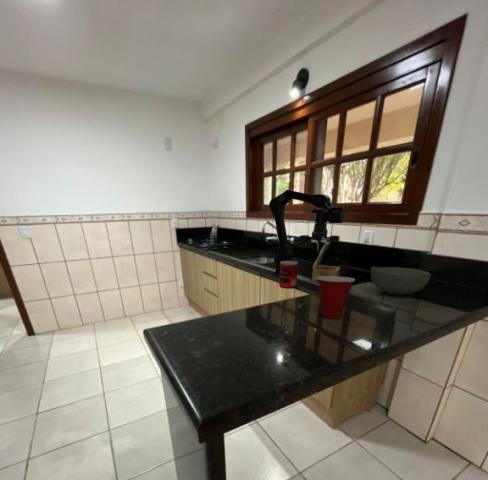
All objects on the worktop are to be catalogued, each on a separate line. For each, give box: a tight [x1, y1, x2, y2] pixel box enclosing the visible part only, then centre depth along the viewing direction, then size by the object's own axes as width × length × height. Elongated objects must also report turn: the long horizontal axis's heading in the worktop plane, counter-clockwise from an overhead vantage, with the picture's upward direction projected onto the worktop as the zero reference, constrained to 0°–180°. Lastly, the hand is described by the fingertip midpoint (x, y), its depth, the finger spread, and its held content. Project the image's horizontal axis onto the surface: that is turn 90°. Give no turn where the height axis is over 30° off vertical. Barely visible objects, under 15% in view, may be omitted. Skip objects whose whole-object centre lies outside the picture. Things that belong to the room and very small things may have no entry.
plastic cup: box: [317, 276, 356, 319], centre depth 79 cm, size 11×11×12 cm
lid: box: [312, 241, 331, 269], centre depth 131 cm, size 12×13×1 cm
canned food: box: [278, 260, 299, 290], centre depth 116 cm, size 8×8×11 cm
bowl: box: [370, 266, 432, 296], centre depth 104 cm, size 20×20×10 cm
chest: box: [311, 265, 341, 282], centre depth 133 cm, size 12×13×6 cm
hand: (317, 256), depth 132 cm, fingers closed
